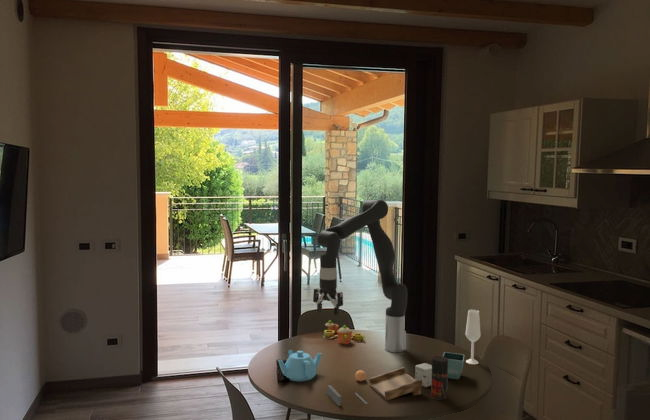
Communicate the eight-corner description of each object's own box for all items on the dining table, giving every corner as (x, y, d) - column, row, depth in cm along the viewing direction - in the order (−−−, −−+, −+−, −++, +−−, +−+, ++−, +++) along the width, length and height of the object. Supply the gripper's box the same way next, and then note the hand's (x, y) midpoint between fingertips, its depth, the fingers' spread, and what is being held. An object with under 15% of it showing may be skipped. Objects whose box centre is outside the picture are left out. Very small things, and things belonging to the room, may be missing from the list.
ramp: (403, 381, 209) (404, 366, 209) (422, 394, 196) (422, 379, 196) (368, 386, 203) (369, 371, 203) (385, 400, 190) (385, 385, 190)
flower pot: (464, 374, 217) (464, 354, 217) (462, 382, 209) (463, 361, 208) (443, 371, 220) (443, 351, 219) (441, 379, 212) (441, 358, 211)
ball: (362, 378, 211) (363, 368, 211) (367, 382, 207) (367, 371, 207) (353, 379, 210) (353, 369, 210) (357, 383, 206) (358, 373, 205)
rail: (330, 393, 196) (330, 384, 195) (341, 405, 185) (341, 396, 185) (327, 394, 195) (327, 385, 195) (338, 406, 185) (338, 396, 185)
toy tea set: (368, 341, 261) (368, 323, 260) (347, 348, 250) (347, 329, 250) (333, 330, 280) (333, 313, 279) (312, 336, 269) (312, 318, 269)
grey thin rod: (351, 388, 201) (351, 387, 201) (368, 403, 187) (368, 403, 187) (349, 388, 201) (349, 388, 201) (365, 404, 187) (365, 403, 187)
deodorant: (429, 393, 197) (430, 356, 196) (444, 393, 197) (445, 355, 197) (433, 400, 191) (434, 361, 190) (449, 400, 192) (450, 361, 191)
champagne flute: (463, 364, 230) (465, 312, 228) (465, 359, 236) (466, 308, 234) (479, 366, 227) (480, 313, 226) (480, 361, 233) (482, 310, 232)
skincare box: (414, 382, 208) (414, 365, 207) (424, 379, 211) (424, 362, 211) (425, 387, 203) (426, 369, 202) (435, 384, 206) (436, 366, 206)
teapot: (275, 380, 208) (275, 355, 207) (288, 368, 222) (288, 344, 221) (310, 385, 203) (311, 359, 203) (321, 372, 218) (322, 347, 217)
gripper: (346, 277, 219) (346, 314, 220) (319, 274, 227) (319, 309, 228) (337, 280, 213) (336, 318, 214) (309, 276, 221) (309, 313, 222)
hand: (327, 314), depth 221 cm, fingers open, 8 cm apart
